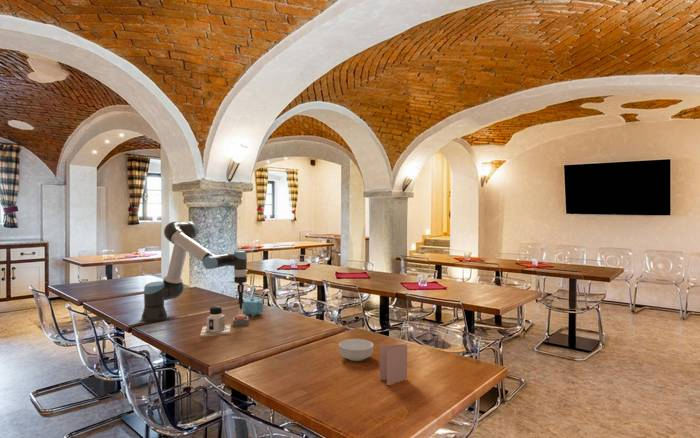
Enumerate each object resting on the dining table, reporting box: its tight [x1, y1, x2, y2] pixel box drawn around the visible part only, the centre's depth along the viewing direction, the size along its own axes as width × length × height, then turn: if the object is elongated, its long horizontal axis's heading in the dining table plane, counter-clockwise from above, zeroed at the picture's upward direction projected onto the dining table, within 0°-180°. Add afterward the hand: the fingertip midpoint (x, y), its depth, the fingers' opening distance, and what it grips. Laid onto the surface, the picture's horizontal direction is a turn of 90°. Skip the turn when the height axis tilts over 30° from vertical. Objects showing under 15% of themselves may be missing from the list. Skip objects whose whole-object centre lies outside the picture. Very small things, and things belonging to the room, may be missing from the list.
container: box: [206, 306, 226, 331], centre depth 247 cm, size 8×8×13 cm
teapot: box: [243, 296, 264, 318], centre depth 285 cm, size 16×18×11 cm
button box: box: [232, 315, 249, 327], centre depth 263 cm, size 9×9×4 cm
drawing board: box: [199, 323, 232, 338], centre depth 247 cm, size 18×16×1 cm
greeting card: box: [379, 344, 408, 386], centre depth 176 cm, size 11×7×15 cm, turn 92°
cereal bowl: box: [338, 338, 375, 362], centre depth 204 cm, size 17×17×7 cm
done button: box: [235, 314, 246, 320], centre depth 263 cm, size 6×6×2 cm
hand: (240, 313), depth 263 cm, fingers closed
